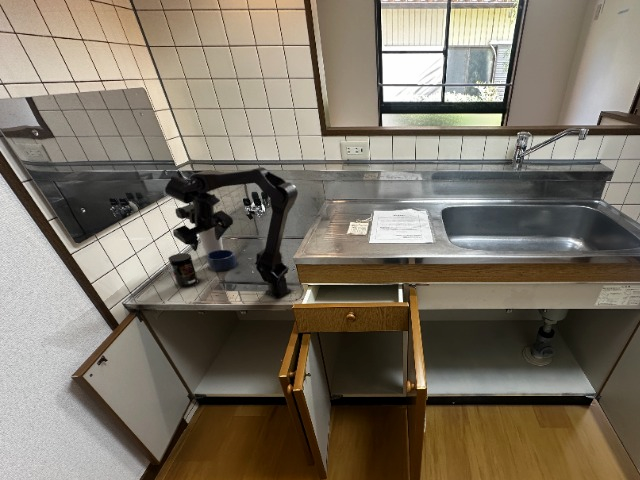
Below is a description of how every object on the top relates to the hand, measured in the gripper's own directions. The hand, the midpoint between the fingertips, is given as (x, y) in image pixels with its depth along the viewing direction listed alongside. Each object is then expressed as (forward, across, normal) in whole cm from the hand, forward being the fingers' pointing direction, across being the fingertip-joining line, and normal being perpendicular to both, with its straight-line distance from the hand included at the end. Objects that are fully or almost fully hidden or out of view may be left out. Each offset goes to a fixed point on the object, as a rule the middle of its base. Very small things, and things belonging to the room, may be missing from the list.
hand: (206, 244), depth 115 cm
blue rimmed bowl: (+16, -7, 0) cm, 17 cm away
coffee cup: (+21, -13, -10) cm, 27 cm away
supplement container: (+14, +9, +1) cm, 16 cm away
